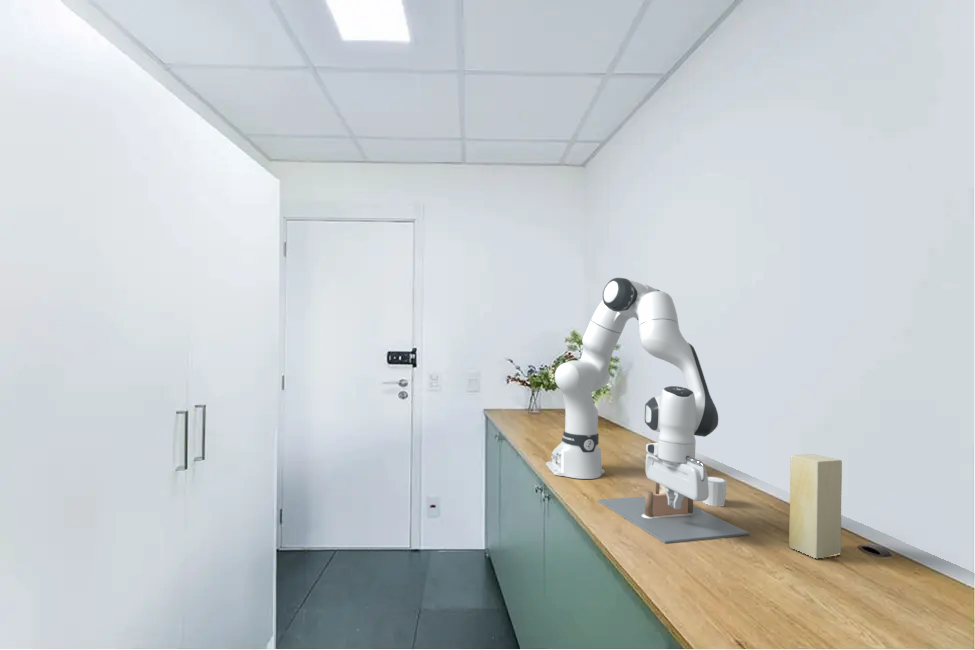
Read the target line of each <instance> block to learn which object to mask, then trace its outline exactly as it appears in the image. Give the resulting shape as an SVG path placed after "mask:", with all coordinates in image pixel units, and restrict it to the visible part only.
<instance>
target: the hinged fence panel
mask: <svg viewBox="0 0 975 650" xmlns="http://www.w3.org/2000/svg"><path fill="white" fill-rule="evenodd" d="M644 497H645V515H647V516H652V515H664V514H680V513H693V506H694V500H692V499H690V498H688V497H686V496H685V497H684V499H683V500H682V502H681V509H674V508H673V507H671V506H669V505H668V498H667V495H666V494H656V493H654V492H653V491H647V490H646V491H645V492H644ZM675 497H676V496H675Z"/></svg>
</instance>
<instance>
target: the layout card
mask: <svg viewBox="0 0 975 650" xmlns="http://www.w3.org/2000/svg"><path fill="white" fill-rule="evenodd" d="M598 501H599V502H598ZM597 502H598V503H600V504H601V503H602V504H601V505H603V506H604V505H605V507H606V506H607V507H606V508H608V509H609V508H610V509H609V510H611V511H612V510H613V512H614V511H615V512H614V513H615V514H617V513H618V514H617V515H619V516H620V515H621V517H622V516H623V517H622V518H623V519H625V518H626V520H627V521H628V522H630V523H632V524H633V523H634V524H633V525H635V526H636V527H638V528H640V529H641V528H642V529H641V530H643V531H645V532H646V533H648V534H649V533H650V535H651V536H653V537H655V538H656V539H657V540H659V541H660V542H662V543H664V544H670V543H671V544H672V543H682V542H691V541H703V540H712V539H713V540H714V539H721V538H730V537H731V538H732V536H733V537H741V535H744V536H750V532H748V531H747V530H744V529H743V528H740V527H738V526H737V525H734V524H731V523H729V522H727V521H725V520H723V519H721V518H718V517H717V516H715V515H712V514H710V513H708V512H706V511H704V510H701V509H699V508H697V507H696V506H694V505H693V513H680V514H664V515H652V516H647V515H645V496H633V497H617V498H602V499H597Z"/></svg>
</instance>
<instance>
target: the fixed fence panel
mask: <svg viewBox="0 0 975 650" xmlns="http://www.w3.org/2000/svg"><path fill="white" fill-rule="evenodd" d="M655 494H666V492H665V486H663V485H661V484H659V483H657V482H655Z"/></svg>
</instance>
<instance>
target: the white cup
mask: <svg viewBox="0 0 975 650" xmlns="http://www.w3.org/2000/svg"><path fill="white" fill-rule="evenodd" d="M707 476H708V475H707ZM727 485H728V480H727V479H724V478H721V477H718V476H708V488H709V496H708V498H707V499H706V500H704V501H702V503H703V504H704V503H705V504H704V505H706V504H708V505H707V506H709V505H711V506H710V507H715V506H721V505H724V506H725V503H726V500H725V499H726V494H727V487H728V486H727Z"/></svg>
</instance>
